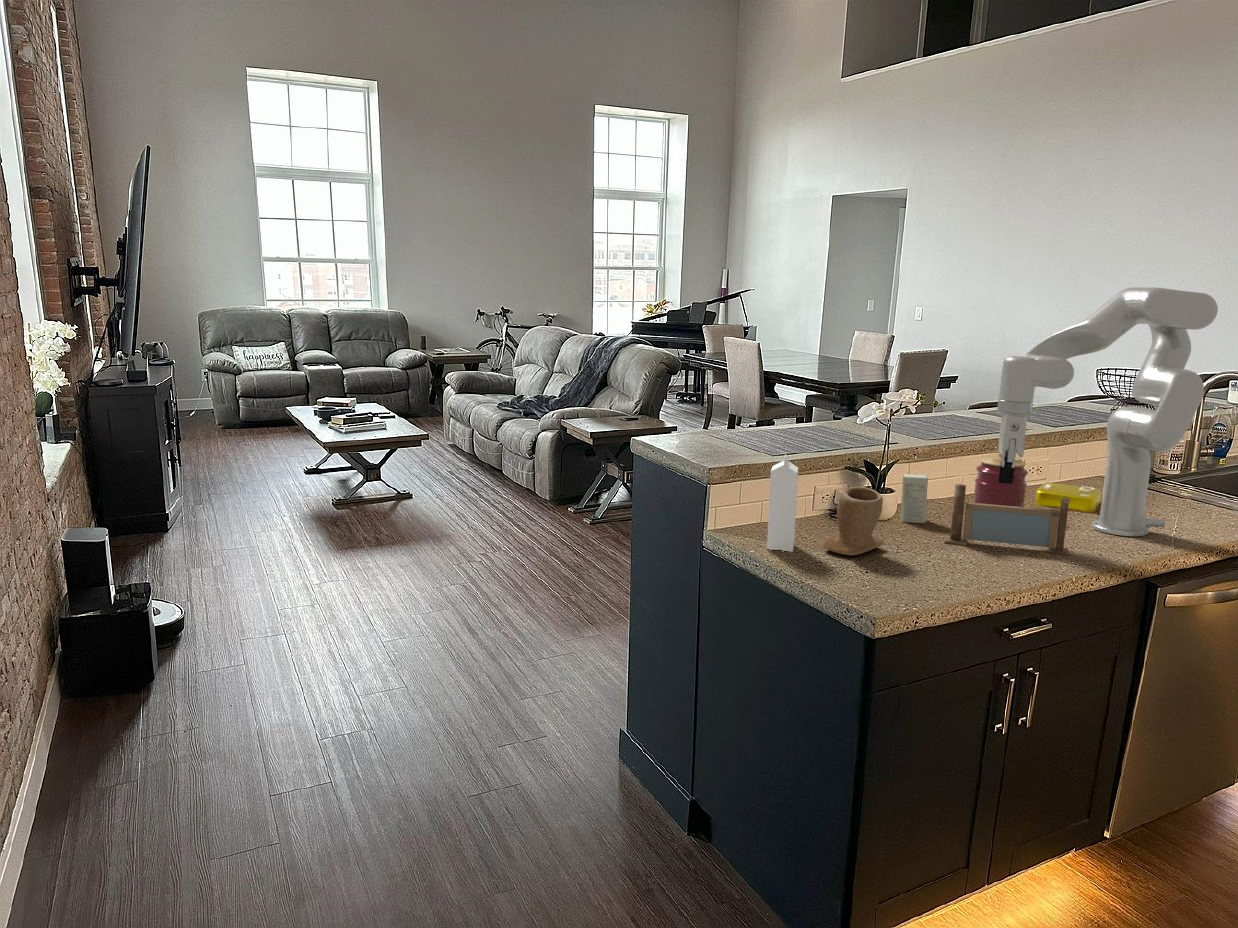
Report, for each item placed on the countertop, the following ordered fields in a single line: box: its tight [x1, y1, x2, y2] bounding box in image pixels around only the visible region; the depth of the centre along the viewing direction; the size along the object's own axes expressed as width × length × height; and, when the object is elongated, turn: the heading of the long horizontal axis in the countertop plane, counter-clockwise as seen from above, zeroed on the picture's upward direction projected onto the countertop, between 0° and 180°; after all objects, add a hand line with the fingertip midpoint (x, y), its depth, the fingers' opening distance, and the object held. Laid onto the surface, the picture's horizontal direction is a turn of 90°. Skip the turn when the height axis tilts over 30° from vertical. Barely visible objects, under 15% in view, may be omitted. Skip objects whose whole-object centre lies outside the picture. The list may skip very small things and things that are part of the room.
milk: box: [766, 453, 799, 553], centre depth 197 cm, size 6×6×22 cm
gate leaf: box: [962, 501, 1060, 548], centre depth 200 cm, size 20×2×9 cm, turn 71°
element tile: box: [1034, 482, 1102, 513], centre depth 242 cm, size 15×15×5 cm
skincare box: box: [900, 473, 929, 524], centre depth 222 cm, size 6×4×12 cm
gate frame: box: [943, 483, 1071, 556], centre depth 200 cm, size 27×5×14 cm, turn 71°
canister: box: [972, 450, 1029, 507], centre depth 231 cm, size 13×13×18 cm
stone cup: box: [822, 486, 885, 556], centre depth 196 cm, size 15×12×15 cm
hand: (1005, 482), depth 207 cm, fingers closed
